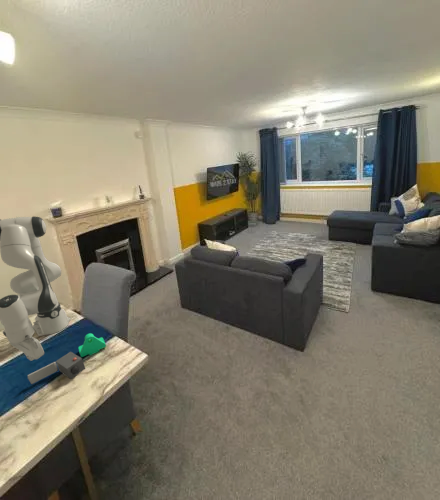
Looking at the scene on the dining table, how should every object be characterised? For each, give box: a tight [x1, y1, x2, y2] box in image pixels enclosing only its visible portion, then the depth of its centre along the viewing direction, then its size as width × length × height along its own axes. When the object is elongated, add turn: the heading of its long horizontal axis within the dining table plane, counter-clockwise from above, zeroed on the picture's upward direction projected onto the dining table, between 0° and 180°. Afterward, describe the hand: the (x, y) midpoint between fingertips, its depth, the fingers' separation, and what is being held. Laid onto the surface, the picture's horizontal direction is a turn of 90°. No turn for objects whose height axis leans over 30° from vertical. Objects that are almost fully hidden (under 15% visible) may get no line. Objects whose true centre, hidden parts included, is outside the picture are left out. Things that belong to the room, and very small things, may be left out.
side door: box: [27, 361, 59, 385], centre depth 119 cm, size 11×2×5 cm, turn 132°
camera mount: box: [78, 332, 107, 358], centre depth 134 cm, size 12×8×10 cm, turn 125°
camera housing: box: [55, 351, 86, 380], centre depth 122 cm, size 11×7×7 cm, turn 57°
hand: (31, 358), depth 112 cm, fingers closed
